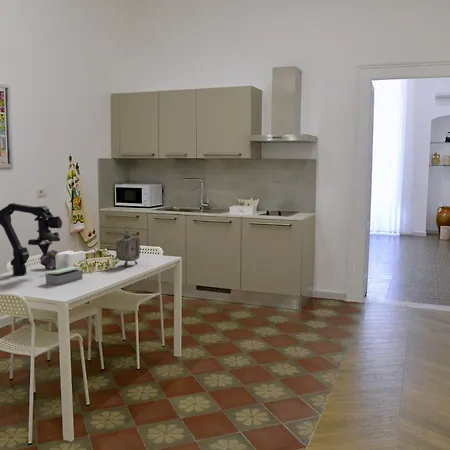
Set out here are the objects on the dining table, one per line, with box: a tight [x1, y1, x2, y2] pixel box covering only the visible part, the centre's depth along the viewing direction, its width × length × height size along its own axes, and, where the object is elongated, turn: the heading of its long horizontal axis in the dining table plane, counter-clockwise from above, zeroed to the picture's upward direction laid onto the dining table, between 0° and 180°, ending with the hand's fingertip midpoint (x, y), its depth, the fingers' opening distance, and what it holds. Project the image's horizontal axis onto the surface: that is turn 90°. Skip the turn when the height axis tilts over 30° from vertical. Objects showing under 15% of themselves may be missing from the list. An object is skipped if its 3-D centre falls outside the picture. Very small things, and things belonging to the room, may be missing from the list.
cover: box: [45, 267, 82, 275], centre depth 295 cm, size 9×18×1 cm, turn 150°
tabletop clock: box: [115, 225, 141, 268], centre depth 338 cm, size 14×9×25 cm, turn 158°
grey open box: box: [45, 270, 83, 287], centre depth 296 cm, size 9×18×5 cm, turn 150°
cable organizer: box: [55, 250, 86, 270], centre depth 323 cm, size 15×11×12 cm
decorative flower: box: [39, 249, 60, 270], centre depth 333 cm, size 14×12×15 cm
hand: (45, 255), depth 310 cm, fingers closed
